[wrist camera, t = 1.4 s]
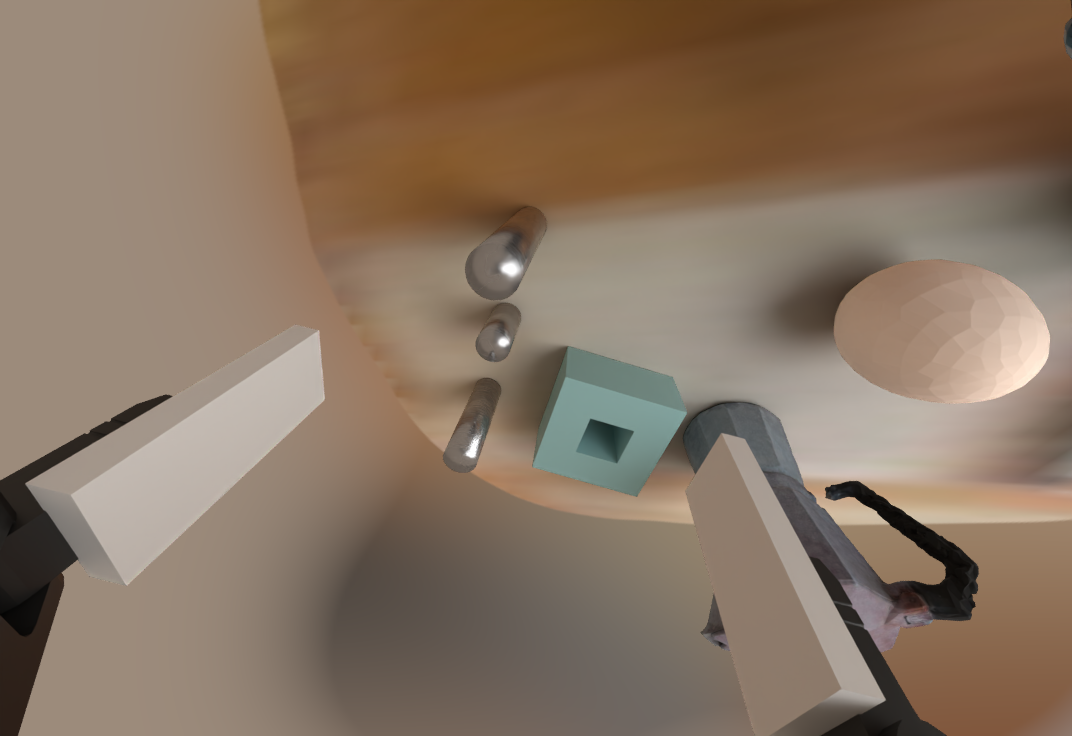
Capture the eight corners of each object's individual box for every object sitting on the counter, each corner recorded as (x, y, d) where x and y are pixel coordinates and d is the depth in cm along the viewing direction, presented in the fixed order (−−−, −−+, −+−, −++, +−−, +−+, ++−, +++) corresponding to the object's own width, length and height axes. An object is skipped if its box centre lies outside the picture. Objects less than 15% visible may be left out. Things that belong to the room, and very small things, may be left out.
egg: (912, 218, 27) (1109, 256, 17) (951, 310, 29) (1141, 389, 19) (787, 294, 30) (888, 362, 20) (832, 369, 33) (942, 463, 23)
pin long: (517, 202, 29) (470, 236, 17) (550, 212, 29) (527, 253, 17) (510, 236, 30) (460, 291, 18) (541, 246, 30) (513, 306, 18)
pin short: (495, 299, 33) (479, 326, 28) (524, 307, 33) (513, 336, 28) (489, 325, 34) (472, 356, 29) (517, 333, 34) (505, 365, 29)
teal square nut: (568, 346, 34) (565, 376, 29) (672, 377, 35) (687, 412, 30) (538, 429, 39) (532, 466, 34) (630, 455, 39) (636, 496, 35)
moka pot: (636, 439, 38) (680, 672, 21) (790, 356, 32) (1030, 587, 15) (686, 494, 41) (761, 740, 24) (836, 428, 35) (1081, 690, 18)
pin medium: (478, 374, 37) (445, 442, 28) (503, 382, 37) (479, 452, 28) (473, 396, 38) (440, 467, 29) (498, 403, 38) (473, 476, 29)
